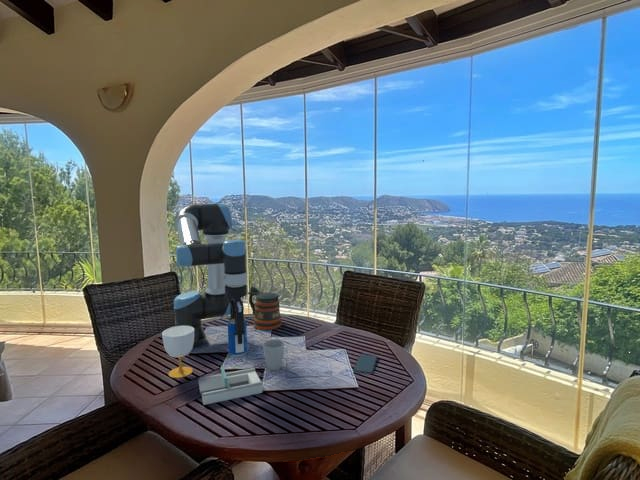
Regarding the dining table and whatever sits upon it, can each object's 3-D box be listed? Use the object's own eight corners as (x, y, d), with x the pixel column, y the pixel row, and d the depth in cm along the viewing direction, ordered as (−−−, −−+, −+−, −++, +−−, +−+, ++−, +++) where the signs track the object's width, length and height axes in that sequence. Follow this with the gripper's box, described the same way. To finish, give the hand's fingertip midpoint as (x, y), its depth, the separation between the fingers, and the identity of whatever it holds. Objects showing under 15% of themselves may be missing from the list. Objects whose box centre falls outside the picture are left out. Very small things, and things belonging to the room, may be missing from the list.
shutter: (198, 381, 135) (197, 371, 134) (223, 376, 138) (223, 366, 138) (200, 393, 127) (199, 383, 126) (227, 388, 130) (227, 378, 129)
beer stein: (240, 327, 197) (239, 289, 195) (256, 318, 211) (255, 283, 208) (272, 332, 190) (271, 293, 187) (286, 322, 203) (285, 286, 201)
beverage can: (243, 357, 131) (241, 324, 129) (225, 356, 132) (224, 323, 130) (250, 350, 137) (249, 318, 135) (233, 348, 138) (232, 317, 137)
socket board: (200, 387, 137) (199, 377, 136) (254, 377, 144) (254, 367, 144) (203, 405, 126) (202, 394, 125) (262, 392, 133) (262, 382, 133)
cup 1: (157, 377, 145) (155, 334, 143) (179, 363, 156) (176, 324, 154) (182, 382, 141) (180, 338, 139) (202, 368, 152) (200, 327, 150)
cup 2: (287, 364, 155) (287, 341, 154) (279, 373, 147) (278, 348, 146) (269, 361, 157) (269, 338, 156) (260, 370, 150) (259, 346, 149)
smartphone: (353, 370, 148) (360, 352, 162) (353, 374, 148) (360, 356, 163) (372, 372, 146) (377, 355, 160) (372, 376, 146) (377, 358, 160)
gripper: (220, 279, 139) (223, 339, 142) (229, 292, 121) (231, 361, 124) (241, 277, 141) (243, 336, 145) (252, 290, 124) (254, 357, 127)
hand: (237, 347), depth 134 cm, fingers closed on beverage can, 6 cm apart
